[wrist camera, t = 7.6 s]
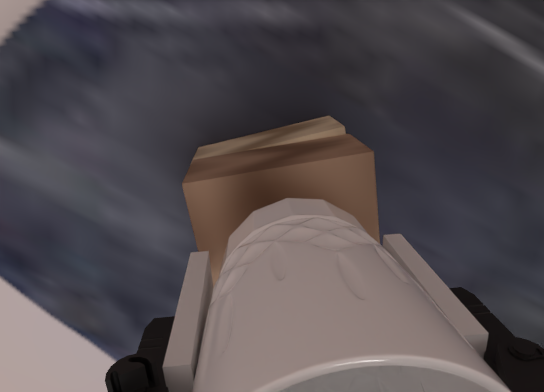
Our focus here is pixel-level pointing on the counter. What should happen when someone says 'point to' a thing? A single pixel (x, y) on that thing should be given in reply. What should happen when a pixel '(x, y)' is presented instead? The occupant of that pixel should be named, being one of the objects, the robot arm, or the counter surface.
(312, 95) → the counter surface
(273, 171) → the tower top
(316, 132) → the tower bottom
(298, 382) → the white cup
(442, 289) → the robot arm
